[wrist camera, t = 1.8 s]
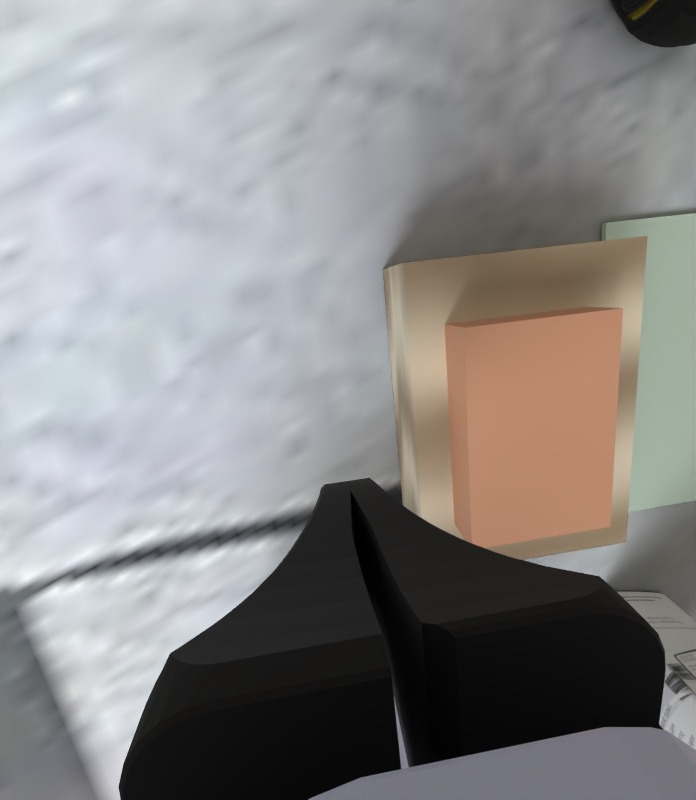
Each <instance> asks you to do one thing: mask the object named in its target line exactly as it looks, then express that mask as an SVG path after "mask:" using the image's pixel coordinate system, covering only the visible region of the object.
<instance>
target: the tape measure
mask: <svg viewBox="0 0 696 800" xmlns="http://www.w3.org/2000/svg"><path fill="white" fill-rule="evenodd" d="M611 1H612V3H613V6H614V8H615V10H616V12H617V14H618V16H619V17H620V19H621V20H622V22H623V23H624V25H625V26H626V28H627V29H628V31H629V32H630V33H631V34H632V35H634V36H635V37H636V38H638V39H639V40H640V41H643V42H645V43H647V44H650V45H654V46H659V47H676V46H685V45H691V44H695V43H696V0H611Z"/></svg>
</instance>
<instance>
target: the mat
mask: <svg viewBox="0 0 696 800" xmlns="http://www.w3.org/2000/svg"><path fill="white" fill-rule="evenodd" d="M642 236H648V238H647V252H646V266H645V281H644V295H643V309H642V323H641V338H640V352H639V366H638V380H637V395H636V409H635V423H634V437H633V452H632V466H631V480H630V494H629V509H628V512H631V511H637V510H643V509H649V508H655V507H661V506H667V505H673V504H679V503H685V502H691V501H696V213H692V214H682V215H673V216H664V217H654V218H645V219H635V220H626V221H616V222H607V223H602V235H601V241H605V240H614V239H623V238H633V237H642Z"/></svg>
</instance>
